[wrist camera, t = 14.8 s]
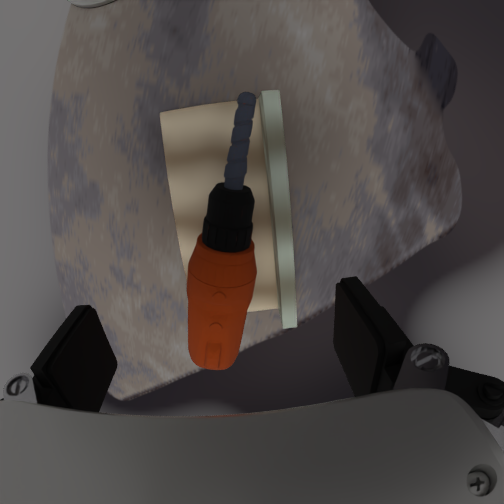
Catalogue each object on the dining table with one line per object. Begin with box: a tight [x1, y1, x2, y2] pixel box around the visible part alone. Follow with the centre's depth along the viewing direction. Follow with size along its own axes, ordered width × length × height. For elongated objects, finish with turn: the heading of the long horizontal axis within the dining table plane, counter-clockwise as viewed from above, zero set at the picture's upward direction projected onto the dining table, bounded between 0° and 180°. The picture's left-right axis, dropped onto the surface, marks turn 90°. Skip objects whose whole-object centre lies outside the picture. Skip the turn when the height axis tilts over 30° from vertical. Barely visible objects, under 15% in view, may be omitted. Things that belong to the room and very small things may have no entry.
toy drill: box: [187, 92, 257, 370], centre depth 21 cm, size 5×19×15 cm, turn 171°
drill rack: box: [160, 90, 297, 329], centre depth 28 cm, size 22×11×6 cm, turn 6°
